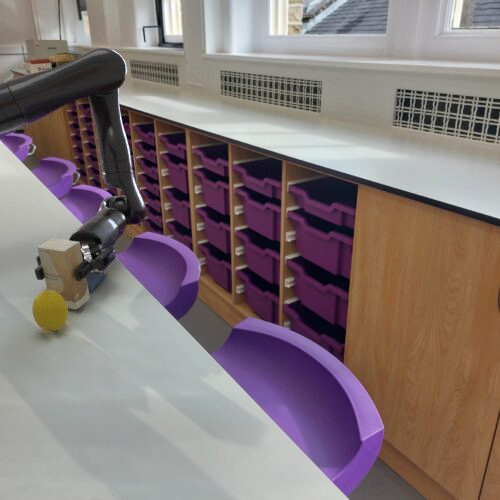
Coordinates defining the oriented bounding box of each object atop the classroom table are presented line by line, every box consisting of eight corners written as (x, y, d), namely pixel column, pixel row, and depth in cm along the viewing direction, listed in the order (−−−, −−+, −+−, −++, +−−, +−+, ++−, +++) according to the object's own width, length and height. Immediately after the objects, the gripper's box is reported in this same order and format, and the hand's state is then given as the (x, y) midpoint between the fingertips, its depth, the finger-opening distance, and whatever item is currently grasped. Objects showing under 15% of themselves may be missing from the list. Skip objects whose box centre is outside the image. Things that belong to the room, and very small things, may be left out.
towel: (48, 291, 98) (46, 283, 98) (64, 275, 105) (62, 267, 104) (90, 292, 97) (89, 284, 96) (104, 275, 103) (103, 268, 103)
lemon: (71, 336, 83) (62, 295, 80) (37, 342, 82) (25, 301, 79) (72, 319, 88) (63, 280, 85) (40, 325, 87) (29, 286, 84)
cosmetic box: (49, 305, 92) (34, 246, 87) (65, 294, 95) (51, 237, 90) (77, 310, 90) (64, 250, 84) (92, 298, 93) (80, 240, 88)
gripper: (59, 221, 101) (15, 256, 87) (125, 221, 100) (91, 258, 85) (66, 253, 105) (25, 293, 90) (130, 254, 103) (99, 295, 88)
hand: (57, 275), depth 87 cm, fingers closed on cosmetic box, 7 cm apart
